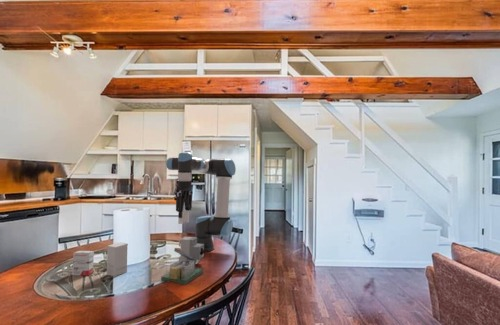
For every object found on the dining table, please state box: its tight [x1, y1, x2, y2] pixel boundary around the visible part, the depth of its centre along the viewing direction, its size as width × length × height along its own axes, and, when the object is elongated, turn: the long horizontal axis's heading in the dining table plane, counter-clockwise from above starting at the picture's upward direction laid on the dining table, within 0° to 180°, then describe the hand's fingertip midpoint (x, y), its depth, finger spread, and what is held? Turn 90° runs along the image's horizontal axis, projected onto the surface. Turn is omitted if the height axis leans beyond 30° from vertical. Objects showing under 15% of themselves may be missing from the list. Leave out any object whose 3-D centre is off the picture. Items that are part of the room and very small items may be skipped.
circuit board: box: [160, 259, 204, 286], centre depth 150 cm, size 18×14×7 cm
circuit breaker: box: [178, 236, 206, 264], centre depth 171 cm, size 8×14×15 cm, turn 78°
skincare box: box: [106, 241, 129, 278], centre depth 153 cm, size 8×7×16 cm
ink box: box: [72, 250, 95, 277], centre depth 152 cm, size 8×5×12 cm, turn 89°
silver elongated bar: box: [174, 247, 194, 260], centre depth 151 cm, size 16×4×2 cm, turn 161°
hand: (183, 222), depth 158 cm, fingers open, 5 cm apart
